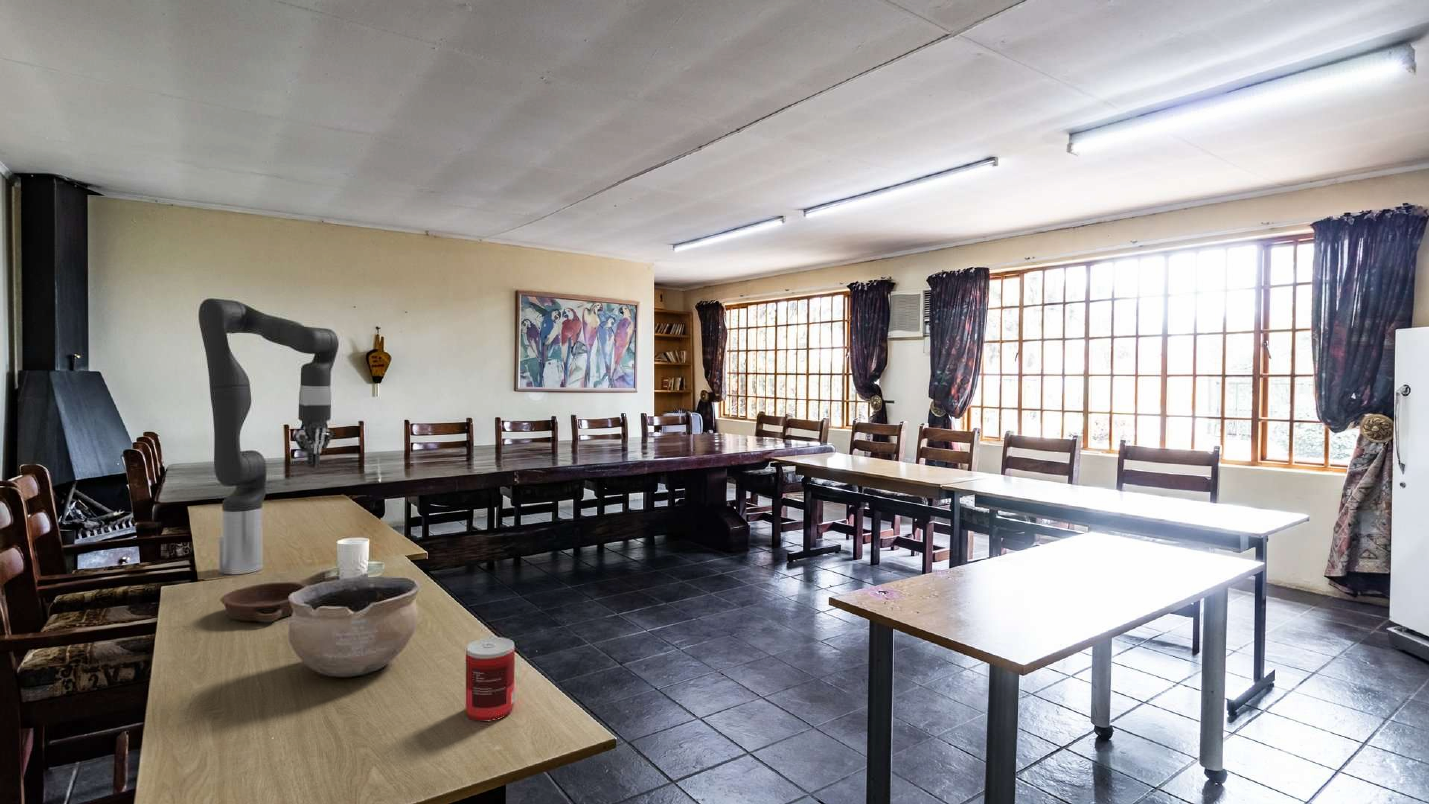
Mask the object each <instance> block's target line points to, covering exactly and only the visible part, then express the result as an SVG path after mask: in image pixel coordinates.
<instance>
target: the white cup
mask: <svg viewBox="0 0 1429 804" xmlns="http://www.w3.org/2000/svg"><path fill="white" fill-rule="evenodd" d="M336 551H337V552H336V553H337V554H336V555H337V565H338V568H339V573H338V578H339V579H338V580H340V579H345V578H353V577H358V576H360V575H362V574H364V573H367V567H368V562H369V554H370V539H369V538H368V537H367V538H366V537H349V538H343V539H339V540H337V541H336Z"/></svg>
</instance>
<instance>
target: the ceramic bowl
mask: <svg viewBox="0 0 1429 804" xmlns="http://www.w3.org/2000/svg"><path fill="white" fill-rule="evenodd" d="M419 590H420V584H419V582H418V580H415V579H413V578H409V577H402V576H377V577H365V578H362V577H353V578H345V579H335V580H331V581H323V582H322V581H321V582H318V583H316V584H314V585H311V586H307V587H305V588H303V589H301V590H299V591H297V592H294V593H291V594H290V595H289V597H288V598H289V601H290V604H291V606H292V609H293V614H291V617H290V620H289V624H288V631H287V632H288V633H287V635H288V641H289V644H290V646H291V648H292V650H293V651H294V652H295V655H296V656H297V657H298V658H299V659H300V660H301V661H302V663H304V664H305V665H306V666H307V667H309V668H310V669H311V670H313V671H314V672H316V673H318V674H321V675H324V676H328V677H335V678H337V677H338V678H350V677H357V676H363V675H366V674H369V673H373V672H375V671H378V670H380V669H382V668H383V667H385V666H386V665H388V664H389V663H390V662H392V661H393V660H394V659H395V658H397V656H398V655H399V654H400V653H401V652H402V651H403V650H404V649H405V648H406V646H407V645H408V644H409V642H410V640H411V639H412V637H413V636H414V633H415V630H416V628H417V625H418V620H419V612H418V611H419V610H418V605H417V600H416V598H417V596H418V593H419Z"/></svg>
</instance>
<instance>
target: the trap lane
mask: <svg viewBox="0 0 1429 804" xmlns="http://www.w3.org/2000/svg"><path fill="white" fill-rule="evenodd" d="M383 574H385V561H384V562H383V561H368V567H367V573H364V574H362V575H360V576H358V577H362V578H365V577H380V576H381V575H383ZM336 575H339V568H338V564H337V565H334V566H332V567H330V568H327V569H325V570H323V571H321V572H318V573H316V574H314V575H310V576H309V577H307V578H303V579H301V580H299V581H297V582H296V581H295V582H296V583H302V584H305V585H308V586H312V585H315V584H318V583H321V582H322V581H323V582H324V581H325V580H327V579H329V578H331V577H333V576H336Z"/></svg>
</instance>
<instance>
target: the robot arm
mask: <svg viewBox="0 0 1429 804" xmlns="http://www.w3.org/2000/svg"><path fill="white" fill-rule="evenodd" d="M198 324H199V329H200V332H201V333H200V334H201V338H202V343H203V346H204V347H203V348H204V351H205V356H206V358H205V359H206V363H207V364H206V365H207V372H208V380H209V381H208V382H209V383H208V384H209V385H208V386H209V394H210V395H209V396H210V402H211V407H212V408H211V409H212V419H213V420H212V421H213V432H214V433H213V437H214V440H213V441H214V442H213V443H214V444H213V447H214V448H213V467H214V470H213V471H214V474H215V477H216V479H217V481H218V482H219V483H220V484H221V485H222V486H225V487H235V489H234V491H233V492H232V493H231V494H230V495H228V496H226V498H224V499H223V501H222V508H221V509H222V514H221V515H222V516H221V517H222V536H221V537H219V538H218V539H219V540H218V556H219V557H218V559H219V560H218V563H219V567H218V568H219V573H223V574H226V575H241V574H244V575H245V574H248V573H249V574H250V573H255V572H257V571H261V570H262V569H263V546H264V545H263V502H264V500H265V497H266V493H267V492H266V491H267V490H266V489H267V487H266V486H267V473H268V472H267V471H268V470H267V463H266V459H265V457H264V456H263V455H262V453H260V452H259V451H257V450H252V449H251V450H250V449H249V450H241V443H240V442H241V431H242V428H243V425H244V424H245V421H246V419H247V416H248V414H249V411H250V409H251V405H252V393H251V383H250V379H249V376H248V375H247V373H246V371H245V370H244V368H243V367H242V366H241V365H240V363H239V362H238V360H237V359H236V357H235V355H234V354H233V353H232V351H231V348H230V345H229V340H228V334H233V335H234V334H254V335H258V336H261V337H262V338H263V339H265V340H266V341H269V342H271V343H274V344H278V345H281V346H285V347H288V348H290V349H292V350H294V351H296V352H298V353H301V354H307V355H314V356H313V358H312V360H311V361H310V362H307V363H303V364H302V366H301V368H300V386H299V387H300V388H299V390H298V391H299V392H298V416H297V417H298V418H297V419H298V420H299V421H301V425H300V430H299V432H298V433H294V434H293V437H292V438H293V439H294V441H295V442H296V444H297V446H298V448H299V450H300V451H301V452H302V453H305V454H307V459H306V460H307V464H306V465H307V467H308V468H312V469H315V468H318V467H319V466H320V455H321V453H322V451H326V450H327V448H328V446H329V444H330V442H331V439H332V438H333V436H334V434H335V433H334V431H333V430H329V424H328V421H330V420H332V419H331V416H332V390H331V388H332V387H331V380H332V379H331V378H332V369H333V367H334V364H335V360H336V357H337V355H338V351H339V346H340V345H339V344H340V343H339V339H338V338H339V337H338V336H337V333H336V332H335V331H334V330H332V329H330V328H323V327H315V326H313V327H312V326H306V325H304V324H302V323H300V322H297V321H294V320H292V319H287V318H283V317H278V316H274V315H269V314H266V313H263V312H261V311H259V310H257V309H255V308H253V307H251V306H249V305H247V304H245V303H242V302H240V301H237V300H231V299H222V298H206V299H204V300H203V301H202V302H201V303H200V305H199V309H198Z"/></svg>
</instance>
